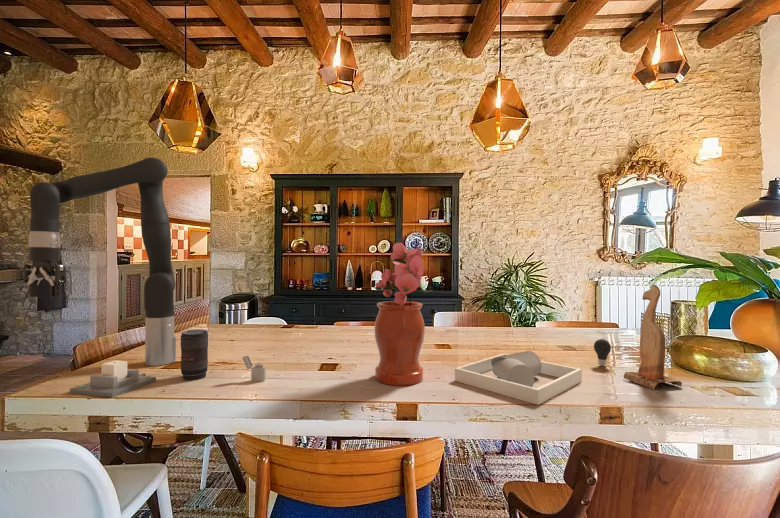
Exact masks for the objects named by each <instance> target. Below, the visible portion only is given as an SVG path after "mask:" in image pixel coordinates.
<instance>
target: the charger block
mask: <svg viewBox="0 0 780 518" xmlns="http://www.w3.org/2000/svg"><path fill="white" fill-rule="evenodd" d="M100 369H101V370H100V371H101V374H100V375H105V376H116V377H118V381H120V380H123V379H126V378H127V369H128V360H127V361H126V360H112V361H108V362H105V363H102V364H101V368H100Z"/></svg>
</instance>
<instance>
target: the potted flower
mask: <svg viewBox="0 0 780 518" xmlns="http://www.w3.org/2000/svg"><path fill="white" fill-rule="evenodd" d="M422 250H423V248H422V247H417V248H412V249H410V250H408V249H407V247H406V246H405V245H404V244H403V243H402V242H396V243H394V244H393V245H392V253H391V255H390V260H391V261H392V263H393V264H394V272H392V270H391V269H390V268H385V269H384V272H383V273H381V275H380V277H381V280H380V281H377V282H376V283H374V284H375V287H374V290H375V291H380V292H382V294H383V296H385V298H390V297H392V295H394V300H393V301H392V300H389V301H381V302H377V303H376V306H377V308H379V310H378V314H377V315H376V318H375V321H374V327H373V328H374V330H373V332H374V340H375V345H376V347H377V350H378V354H379V355H378V356H379V362H378V365H377V366H375V369H374V376H375V377H374V379H375V380H376V381H377V382H378V383H381V384H384V385H388V386H397V387H400V386H401V387H402V386H411V385H416V384H420V383H421V382H423V380H424V368H423V367H422V366H421V364H420V360H419V358H420V353H421V350H422V347H423V344H424V340H425V334H426V327H425V320H424V317H423V315H422V312H421V309H422V307H423V305H424V304H423V303H421V302H417V301H411V297H414V296H417V295H421V294H425V293H430V292H432V291H434V290H428V291H423V290H419V289H418V288H419V287H421V285H422V284H421V280H422V278H424V276H423V274H424V270H425V264H424V262H423V261H422V258H423V256H422ZM387 282H389V284H390V285H387ZM392 283H394V286H391V285H392ZM392 290H394V291H395V292H394V294H393V291H392ZM412 292H417V293H416V294H413V295H411V293H412ZM407 298H409V301H407V300H408V299H407Z"/></svg>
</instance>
